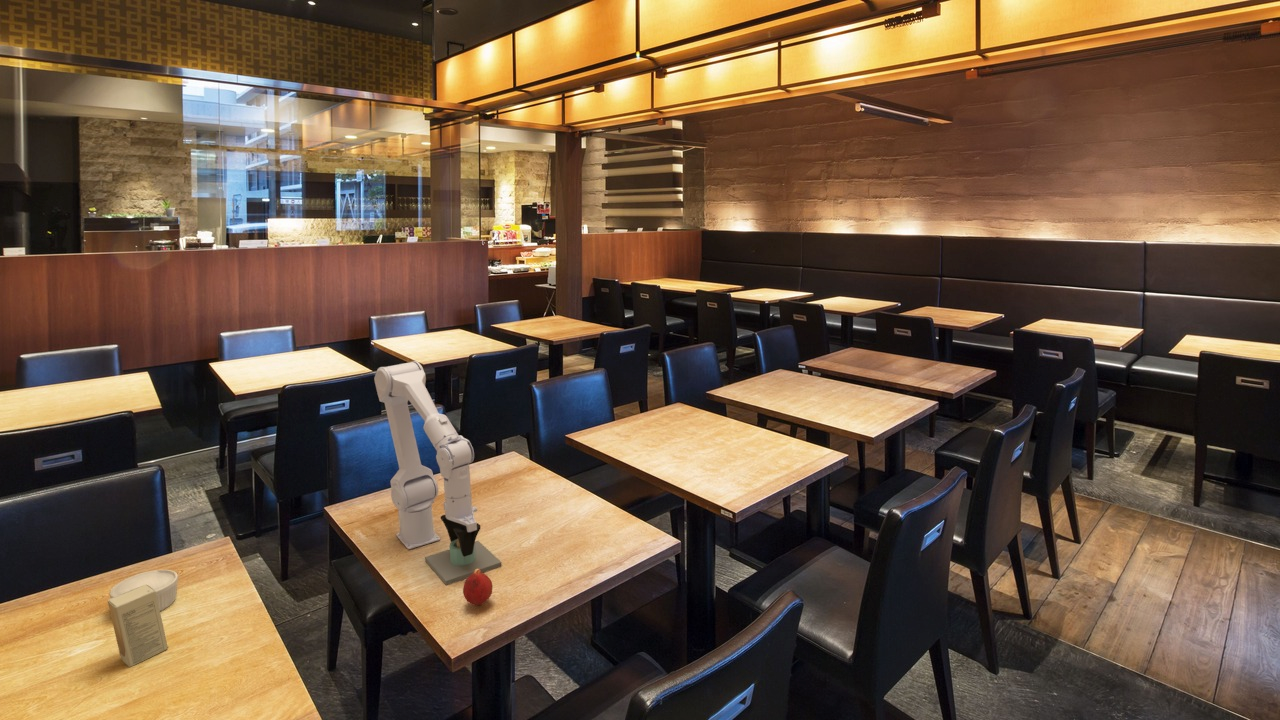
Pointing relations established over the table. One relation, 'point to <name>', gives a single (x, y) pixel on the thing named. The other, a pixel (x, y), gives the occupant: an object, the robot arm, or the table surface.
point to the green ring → (460, 555)
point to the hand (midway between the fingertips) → (462, 549)
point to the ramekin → (151, 585)
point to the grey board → (457, 573)
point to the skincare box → (137, 624)
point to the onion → (477, 588)
